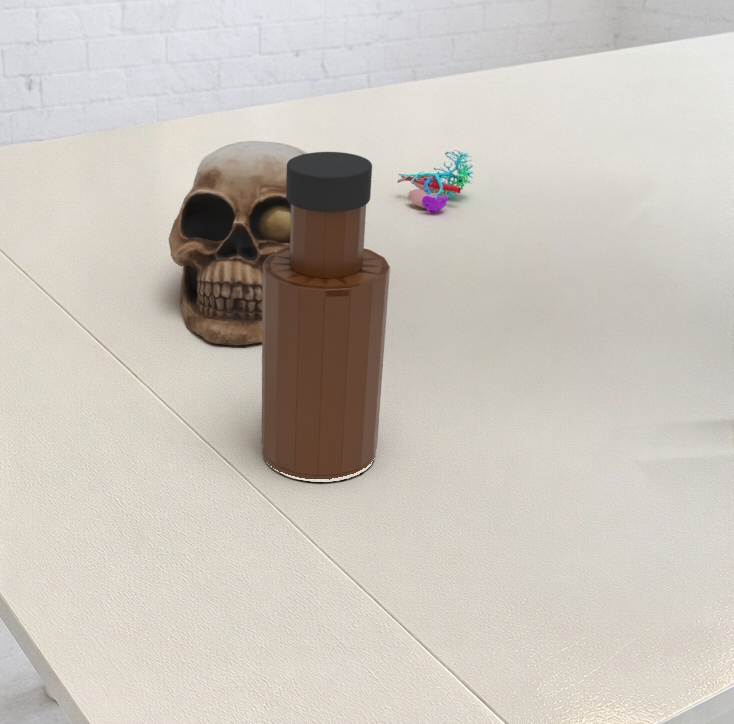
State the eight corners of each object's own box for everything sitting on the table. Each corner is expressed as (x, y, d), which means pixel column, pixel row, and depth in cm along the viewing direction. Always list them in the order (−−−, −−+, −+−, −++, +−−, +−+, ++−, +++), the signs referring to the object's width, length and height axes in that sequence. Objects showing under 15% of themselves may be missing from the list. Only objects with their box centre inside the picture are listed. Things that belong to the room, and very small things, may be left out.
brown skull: (215, 352, 86) (209, 173, 80) (133, 296, 100) (123, 139, 94) (389, 321, 92) (396, 151, 86) (289, 272, 106) (289, 123, 100)
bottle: (362, 422, 77) (378, 175, 68) (386, 479, 71) (407, 217, 62) (255, 429, 77) (256, 181, 67) (270, 487, 71) (273, 223, 61)
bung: (358, 216, 68) (362, 149, 66) (376, 245, 64) (380, 174, 62) (279, 220, 67) (280, 153, 65) (292, 249, 63) (293, 178, 61)
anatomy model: (382, 161, 112) (446, 163, 108) (416, 143, 117) (478, 143, 114) (384, 213, 114) (447, 216, 111) (418, 192, 120) (478, 195, 116)
